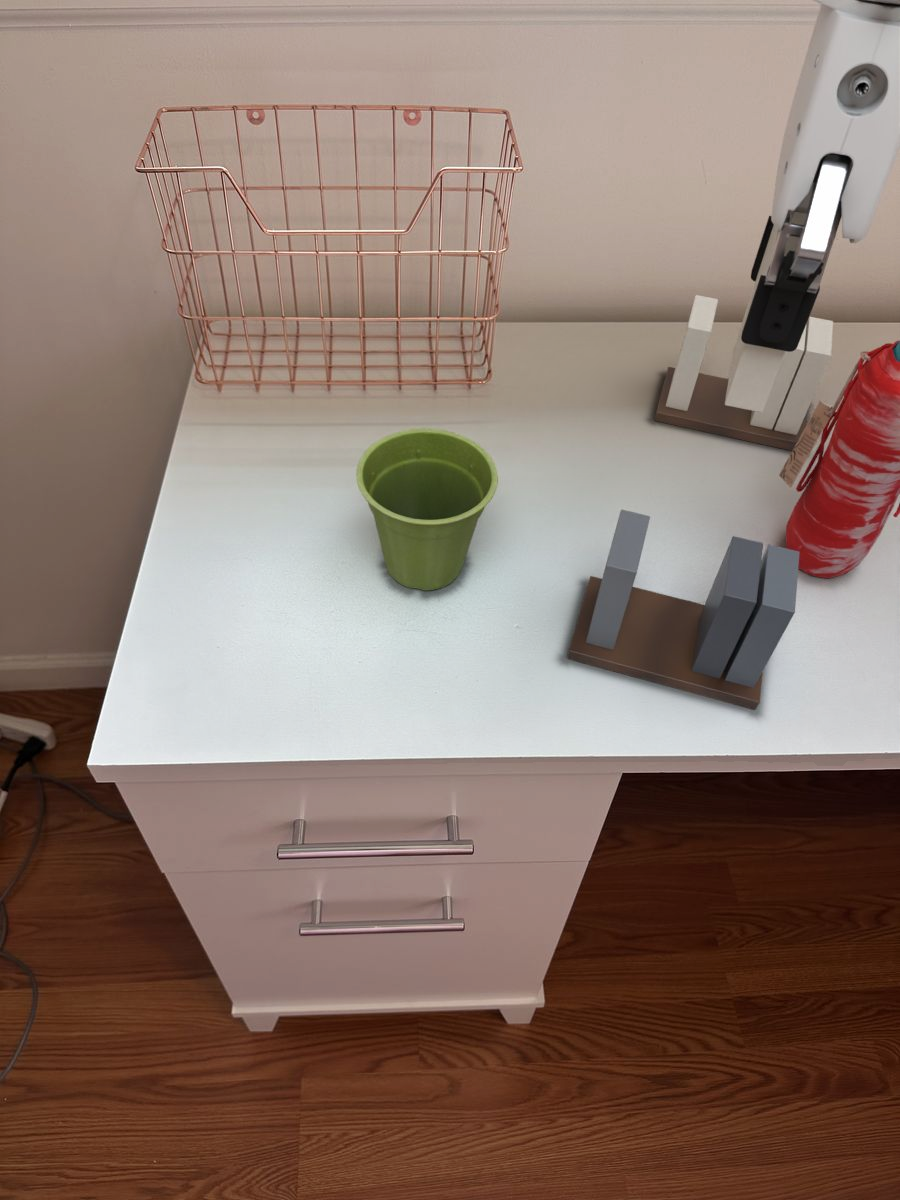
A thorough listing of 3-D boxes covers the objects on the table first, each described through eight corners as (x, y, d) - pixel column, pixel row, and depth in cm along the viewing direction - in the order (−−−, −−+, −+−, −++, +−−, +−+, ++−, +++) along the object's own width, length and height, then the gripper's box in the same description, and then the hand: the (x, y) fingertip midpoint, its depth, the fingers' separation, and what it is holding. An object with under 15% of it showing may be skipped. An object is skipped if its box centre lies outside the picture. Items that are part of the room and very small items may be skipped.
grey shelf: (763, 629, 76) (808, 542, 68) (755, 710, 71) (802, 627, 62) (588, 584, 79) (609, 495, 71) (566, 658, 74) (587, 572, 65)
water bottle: (730, 525, 85) (823, 295, 65) (786, 496, 88) (891, 267, 68) (825, 606, 78) (959, 377, 59) (881, 571, 81) (1026, 343, 62)
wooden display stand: (805, 404, 98) (843, 316, 89) (801, 453, 92) (841, 364, 83) (666, 374, 100) (689, 287, 92) (654, 420, 95) (677, 331, 86)
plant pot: (447, 632, 75) (451, 544, 66) (336, 577, 79) (327, 486, 70) (511, 549, 82) (523, 459, 73) (407, 502, 85) (406, 410, 77)
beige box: (768, 356, 58) (821, 211, 51) (762, 413, 54) (818, 264, 46) (733, 349, 59) (780, 204, 51) (724, 405, 55) (773, 256, 47)
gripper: (1004, 29, 33) (831, 408, 47) (967, -78, 44) (836, 255, 57) (803, 4, 34) (693, 381, 48) (816, -94, 45) (723, 236, 59)
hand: (772, 310), depth 52 cm, fingers closed on beige box, 6 cm apart
